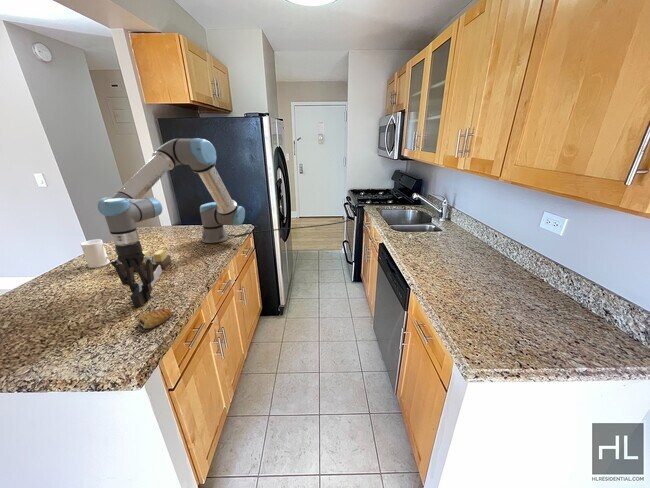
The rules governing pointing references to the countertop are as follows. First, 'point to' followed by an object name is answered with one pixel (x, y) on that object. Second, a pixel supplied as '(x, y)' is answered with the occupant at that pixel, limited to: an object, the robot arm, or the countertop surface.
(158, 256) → the butter slice
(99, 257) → the mug
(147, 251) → the butter
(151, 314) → the pastry
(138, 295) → the butter knife
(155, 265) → the butter board
